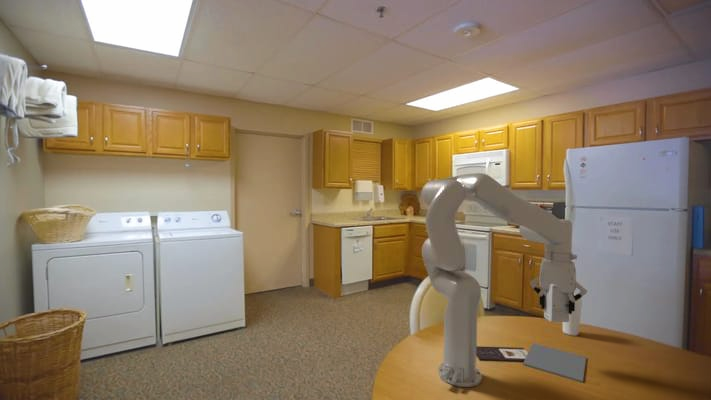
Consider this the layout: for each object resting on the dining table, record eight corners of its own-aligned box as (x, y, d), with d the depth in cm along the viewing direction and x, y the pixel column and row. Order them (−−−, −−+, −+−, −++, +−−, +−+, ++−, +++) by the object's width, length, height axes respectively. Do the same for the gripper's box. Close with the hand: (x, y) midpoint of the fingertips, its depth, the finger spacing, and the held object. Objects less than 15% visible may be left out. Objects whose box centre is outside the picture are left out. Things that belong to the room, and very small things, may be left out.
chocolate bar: (471, 346, 118) (523, 347, 117) (471, 348, 118) (523, 350, 117) (479, 359, 109) (535, 361, 108) (479, 361, 109) (535, 363, 108)
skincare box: (551, 322, 106) (552, 285, 105) (543, 317, 110) (543, 281, 110) (570, 322, 106) (571, 285, 106) (561, 317, 110) (561, 281, 110)
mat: (582, 382, 96) (582, 381, 96) (523, 364, 106) (523, 363, 106) (586, 358, 111) (586, 356, 111) (533, 344, 121) (533, 343, 120)
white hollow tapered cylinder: (584, 337, 127) (585, 298, 126) (567, 337, 127) (568, 298, 126) (573, 329, 134) (574, 293, 133) (556, 329, 134) (557, 293, 133)
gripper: (590, 258, 105) (589, 313, 106) (530, 251, 116) (529, 301, 116) (589, 262, 99) (588, 320, 100) (526, 255, 110) (525, 307, 110)
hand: (556, 309), depth 108 cm, fingers closed on skincare box, 7 cm apart
